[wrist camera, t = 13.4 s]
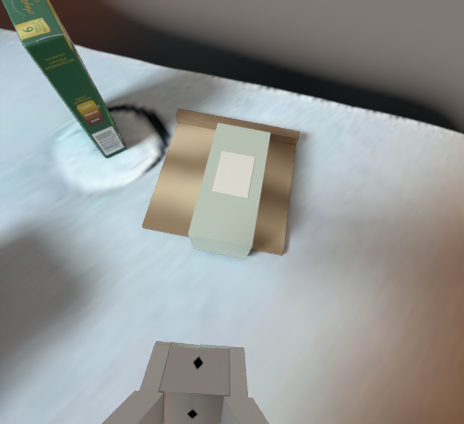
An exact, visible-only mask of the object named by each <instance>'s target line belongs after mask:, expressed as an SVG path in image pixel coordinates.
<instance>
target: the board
mask: <svg viewBox="0 0 464 424" xmlns="http://www.w3.org/2000/svg"><path fill="white" fill-rule="evenodd" d="M176 118H177V126H176V129H175V132H174V135H173V138H172V140H171V143H170V146H169V149H168V152H167V155H166V158H165V161H164V164H163V166H162V169H161V172H160V175H159V178H158V181H157V184H156V187H155V190H154V192H153V195H152V198H151V201H150V204H149V207H148V210H147V213H146V216H145V218H144V221H143V224H142V227H143V228H146V229H151V230H156V231H161V232H166V233H171V234H176V235H181V236H186V237H189V235H188V232H189V228H190V225H191V221H192V217H193V213H194V210H195V206H196V202H197V198H198V195H199V191H200V187H201V184H202V180H203V176H204V172H205V169H206V165H207V161H208V157H209V154H210V150H211V146H212V143H213V139H214V135H215V131H216V128H217V124H218V123H222V124H227V125H232V126H238V127H243V128H248V129H254V130H259V131H264V132H270V133H271V134H270V140H269V146H268V152H267V158H266V164H265V170H264V177H263V183H262V189H261V195H260V201H259V207H258V213H257V220H256V226H255V232H254V238H253V244H252V248H251V250H256V251H261V252H266V253H271V254H276V255H281V256H282V255H283V251H284V242H285V233H286V225H287V216H288V207H289V198H290V189H291V180H292V171H293V163H294V154H295V145H296V143H297V141H298V139H299V131H295V130H289V129H284V128H279V127H273V126H268V125H263V124H257V123H252V122H247V121H241V120H236V119H231V118H225V117H220V116H215V115H209V114H204V113H199V112H193V111H188V110H183V109H178V111H177V114H176Z"/></svg>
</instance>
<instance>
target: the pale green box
mask: <svg viewBox="0 0 464 424" xmlns="http://www.w3.org/2000/svg"><path fill="white" fill-rule="evenodd" d="M270 134H271V133H270V132H264V131H259V130H254V129H248V128H243V127H238V126H232V125H227V124H222V123H218V124H217V128H216V131H215V135H214V139H213V143H212V146H211V150H210V154H209V157H208V161H207V165H206V169H205V172H204V176H203V180H202V184H201V187H200V191H199V195H198V198H197V202H196V206H195V210H194V213H193V217H192V221H191V225H190V228H189V232H188V235H189V238H190V240H191V243H192V246H193V248H194V249H196V250H201V251H206V252H211V253H216V254H221V255H226V256H231V257H236V258H241V259H246V257H247V255H248V254H249V252H250V250H251V248H252V244H253V238H254V232H255V226H256V220H257V213H258V207H259V201H260V195H261V189H262V183H263V177H264V170H265V164H266V158H267V152H268V146H269V140H270Z"/></svg>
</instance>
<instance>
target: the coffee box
mask: <svg viewBox="0 0 464 424" xmlns="http://www.w3.org/2000/svg"><path fill="white" fill-rule="evenodd" d="M2 1H3V4H4V6H5V8H6V10H7V12H8V14H9V17H10V18H11V21H12V23H13V25H14V27H15V29H16V32H17V34H18V36H19V38H20V40H21V43H22V45H23V46H24V48H25V49H26V50H27V52H28V53H29V55H30V56H31V57H32V59H33V60H34V61H35V63H36V64H37V65H38V67H39V68H40V70H41V71H42V72H43V74H44V75H45V76H46V78H47V79H48V81H49V82H50V83H51V85H52V86H53V88H54V89H55V90H56V92H57V93H58V94H59V96H60V97H61V99H62V100H63V101H64V103H65V104H66V105H67V107H68V108H69V110H70V111H71V112H72V114H73V115H74V117H75V118H76V119H77V121H78V122H79V123H80V125H81V126H82V128H83V129H84V130H85V132H86V133H87V134H88V136H89V137H90V138H91V140H92V141H93V143H94V144H95V145H96V147H97V148H98V149H99V150H100V152H101V153H102V154H103V156H104V157H105V158H108V157H110V156H112V155H114V154H117V153H119V152H121V151H124V150H126V149H127V147H126V145H125V143H124V141H123V139H122V137H121V135H120V133H119V130H118V128H117V126H116V123H115V122H114V120H113V118H112V116H111V114H110V113H109V110H108V109H107V107H106V105H105V103H104V101H103V99H102V97H101V95H100V94H99V92H98V90H97V88H96V86H95V84H94V82H93V81H92V79H91V77H90V75H89V73H88V71H87V69H86V67H85V65H84V64H83V61H82V60H81V58H80V56H79V54H78V52H77V51H76V49H75V47H74V45H73V43H72V41H71V39H70V38H69V36H68V34H67V32H66V30H65V29H64V27H63V25H62V23H61V21H60V19H59V17H58V16H57V14H56V12H55V10H54V9H53V7H52V5H51V3H50V2H49V0H2Z"/></svg>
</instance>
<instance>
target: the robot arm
mask: <svg viewBox="0 0 464 424" xmlns="http://www.w3.org/2000/svg"><path fill="white" fill-rule="evenodd" d="M102 424H269V423H268V421H267V420H266V418H265V416H264V415H263V413H262V412H261V410H260V409H259V407H258V406H257V404H256V403H255V401H254V399H253V398H248V392H247V379H246V365H245V352H244V348H242V347H228V346H216V345H193V344H183V343H173V342H161V341H156V343H155V345H154V347H153V350H152V354H151V357H150V360H149V363H148V366H147V369H146V372H145V375H144V378H143V382H142V385H141V388H140V391H134V392H133V393H132V394H131V395H130V396H129V397H128V398H127V399H126V400H125V401H124V402H123V403H122V404H121V405H120V406H119V407H118V408H117V409H116V410H115V411H114V412H113V413H112V414H111V415H110V416H109V417H108V418H107V419H106V420H105V421H104V422H103V423H102Z"/></svg>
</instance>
